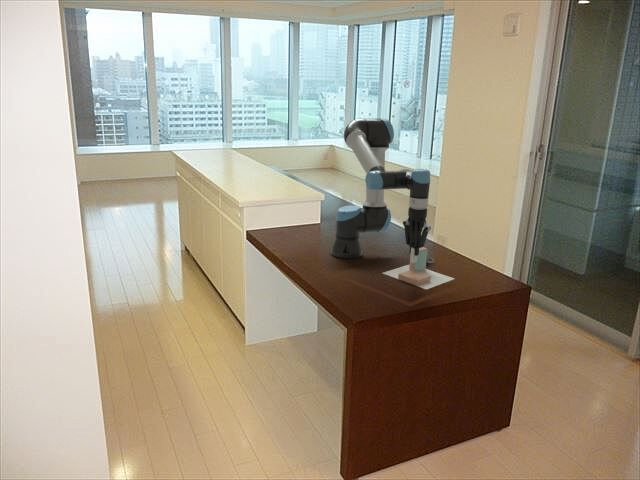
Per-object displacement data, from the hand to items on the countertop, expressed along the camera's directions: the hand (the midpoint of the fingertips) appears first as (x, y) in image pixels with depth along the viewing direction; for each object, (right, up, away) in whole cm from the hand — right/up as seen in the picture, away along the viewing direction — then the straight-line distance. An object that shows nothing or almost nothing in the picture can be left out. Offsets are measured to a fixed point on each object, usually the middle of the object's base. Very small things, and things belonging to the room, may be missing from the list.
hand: (413, 262), depth 222 cm
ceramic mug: (+9, -2, +27) cm, 29 cm away
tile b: (+4, -5, +12) cm, 14 cm away
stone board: (+3, -7, +7) cm, 11 cm away
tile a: (-3, -5, +4) cm, 8 cm away
